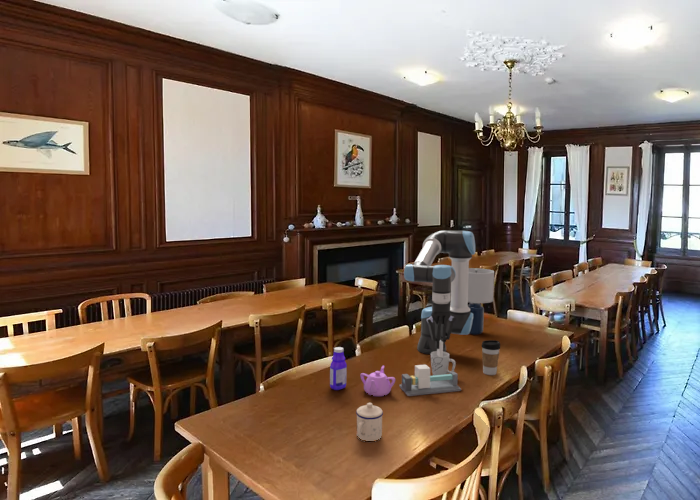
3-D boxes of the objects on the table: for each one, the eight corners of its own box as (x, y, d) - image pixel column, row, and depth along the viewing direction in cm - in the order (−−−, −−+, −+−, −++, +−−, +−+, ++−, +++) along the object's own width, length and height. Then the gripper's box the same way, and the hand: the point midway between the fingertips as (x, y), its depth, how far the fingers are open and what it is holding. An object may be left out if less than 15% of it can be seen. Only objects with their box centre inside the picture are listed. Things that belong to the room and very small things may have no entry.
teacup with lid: (364, 427, 170) (364, 395, 168) (387, 434, 165) (387, 401, 164) (346, 441, 159) (346, 408, 158) (370, 449, 155) (370, 415, 153)
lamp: (495, 337, 279) (498, 272, 275) (460, 337, 280) (463, 271, 275) (486, 328, 299) (488, 267, 295) (453, 328, 300) (455, 266, 295)
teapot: (383, 384, 209) (383, 364, 208) (397, 396, 196) (398, 375, 195) (358, 387, 205) (358, 367, 204) (371, 400, 192) (371, 379, 191)
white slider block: (414, 384, 205) (414, 365, 204) (425, 383, 206) (425, 364, 205) (418, 388, 200) (419, 369, 199) (429, 387, 201) (430, 368, 200)
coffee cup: (500, 376, 218) (501, 345, 217) (481, 375, 220) (482, 343, 219) (498, 370, 227) (499, 339, 225) (479, 369, 228) (481, 338, 227)
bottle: (339, 383, 209) (340, 345, 207) (348, 387, 205) (349, 348, 203) (327, 388, 204) (327, 348, 202) (336, 392, 200) (336, 351, 198)
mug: (457, 374, 221) (457, 353, 220) (452, 380, 213) (453, 359, 212) (432, 370, 226) (433, 350, 225) (428, 376, 218) (428, 355, 217)
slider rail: (399, 386, 206) (399, 372, 205) (450, 381, 212) (450, 367, 211) (407, 396, 196) (408, 380, 196) (461, 390, 202) (461, 376, 202)
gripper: (430, 305, 196) (429, 360, 199) (459, 303, 199) (457, 357, 202) (423, 300, 203) (422, 354, 206) (451, 298, 206) (449, 351, 209)
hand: (439, 355), depth 204 cm, fingers closed
